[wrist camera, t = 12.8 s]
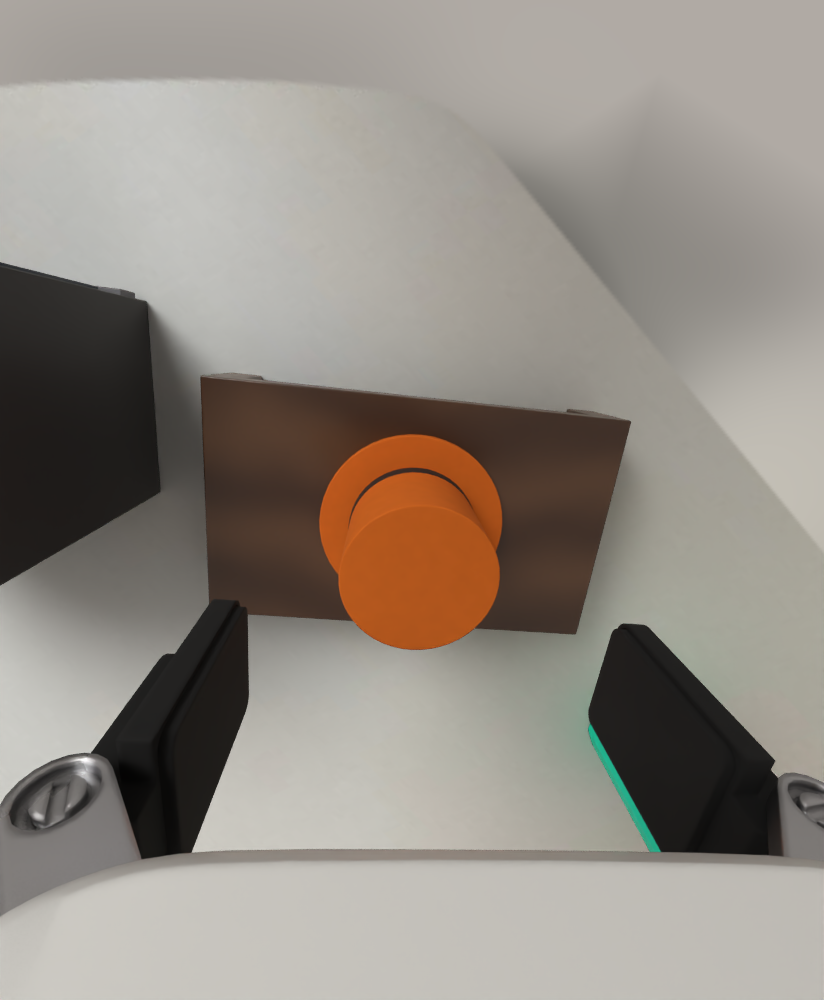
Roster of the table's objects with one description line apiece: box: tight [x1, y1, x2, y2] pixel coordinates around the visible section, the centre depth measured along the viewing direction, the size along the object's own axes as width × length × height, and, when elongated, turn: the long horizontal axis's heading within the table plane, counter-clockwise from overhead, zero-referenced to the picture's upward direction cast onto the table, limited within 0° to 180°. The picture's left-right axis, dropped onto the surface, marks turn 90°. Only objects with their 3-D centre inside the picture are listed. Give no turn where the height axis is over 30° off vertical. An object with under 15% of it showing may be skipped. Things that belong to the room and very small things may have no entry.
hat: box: [319, 434, 502, 650], centre depth 19 cm, size 9×9×6 cm
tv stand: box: [200, 373, 631, 634], centre depth 24 cm, size 12×20×4 cm, turn 84°
